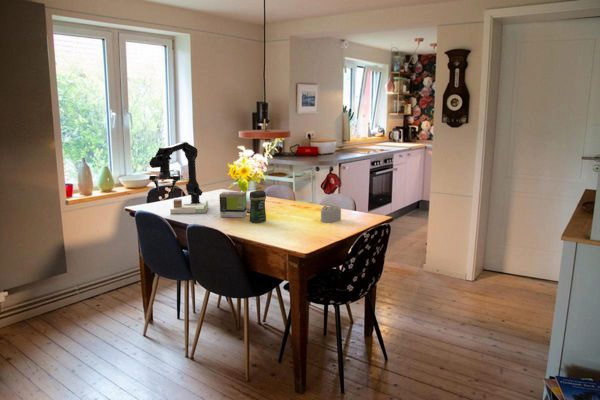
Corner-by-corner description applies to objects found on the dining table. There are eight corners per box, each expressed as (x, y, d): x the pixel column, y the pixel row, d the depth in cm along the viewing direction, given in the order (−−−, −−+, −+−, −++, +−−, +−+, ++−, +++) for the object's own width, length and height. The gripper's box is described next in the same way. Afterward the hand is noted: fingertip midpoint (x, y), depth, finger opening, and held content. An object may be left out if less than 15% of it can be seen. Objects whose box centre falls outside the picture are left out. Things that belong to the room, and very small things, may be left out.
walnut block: (174, 206, 308) (174, 199, 308) (181, 205, 309) (181, 199, 308) (173, 207, 304) (173, 200, 303) (180, 207, 304) (180, 200, 304)
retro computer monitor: (247, 214, 299) (246, 191, 296) (243, 218, 289) (243, 194, 286) (223, 213, 300) (223, 190, 297) (219, 217, 290) (219, 193, 288)
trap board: (174, 208, 315) (174, 201, 314) (207, 207, 317) (207, 200, 316) (170, 214, 299) (170, 206, 298) (205, 213, 301) (205, 205, 300)
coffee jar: (255, 224, 274) (255, 192, 271) (247, 221, 280) (246, 190, 276) (268, 221, 281) (268, 190, 277) (260, 218, 287) (259, 188, 283)
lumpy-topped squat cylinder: (342, 219, 285) (343, 205, 283) (331, 224, 275) (331, 209, 273) (328, 217, 291) (328, 203, 289) (316, 221, 281) (316, 207, 279)
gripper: (147, 167, 292) (147, 192, 295) (177, 168, 294) (178, 192, 296) (150, 166, 303) (151, 190, 305) (180, 166, 305) (180, 190, 307)
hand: (165, 190), depth 303 cm, fingers open, 9 cm apart
